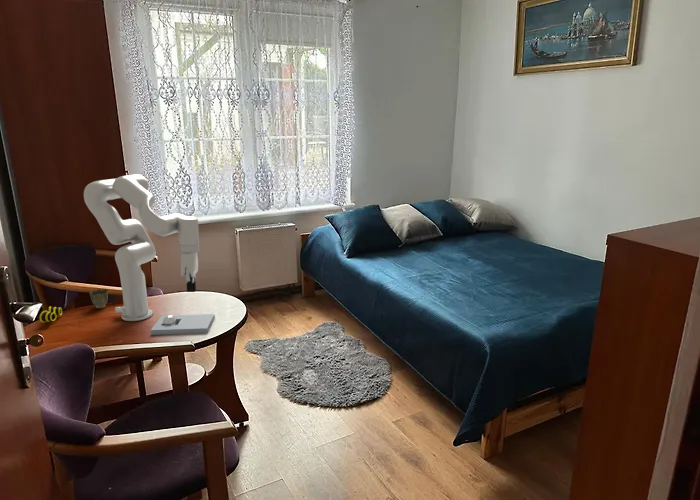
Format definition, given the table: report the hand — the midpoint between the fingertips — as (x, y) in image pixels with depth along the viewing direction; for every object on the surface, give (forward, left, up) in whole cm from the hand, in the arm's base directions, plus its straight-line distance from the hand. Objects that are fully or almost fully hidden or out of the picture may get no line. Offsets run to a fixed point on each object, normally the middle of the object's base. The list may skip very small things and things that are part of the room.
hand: (191, 291), depth 199 cm
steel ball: (-10, -1, -13) cm, 16 cm away
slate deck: (-4, 0, -15) cm, 16 cm away
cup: (-47, +24, -15) cm, 55 cm away
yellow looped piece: (-62, +12, -16) cm, 65 cm away
